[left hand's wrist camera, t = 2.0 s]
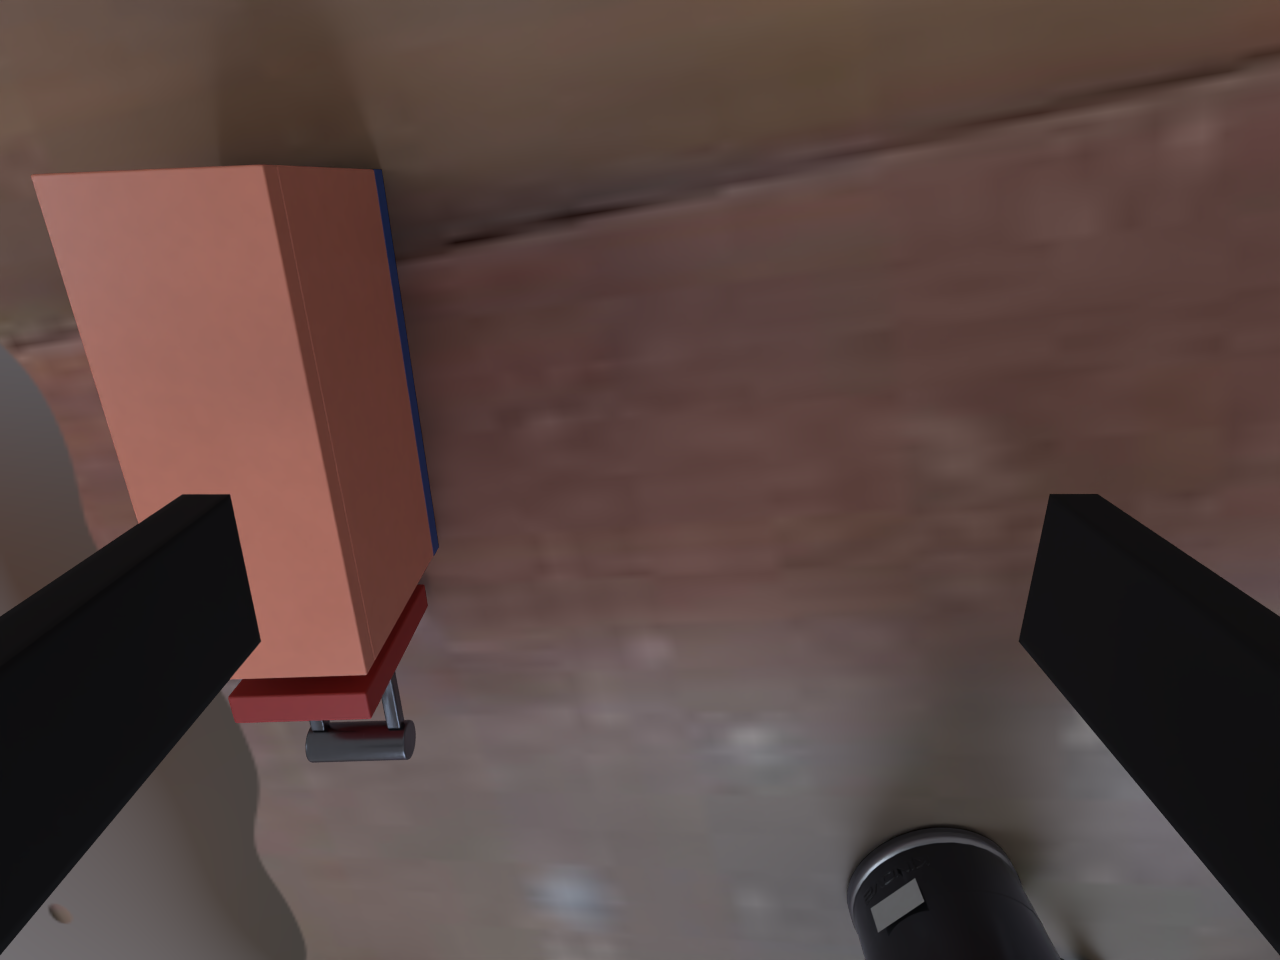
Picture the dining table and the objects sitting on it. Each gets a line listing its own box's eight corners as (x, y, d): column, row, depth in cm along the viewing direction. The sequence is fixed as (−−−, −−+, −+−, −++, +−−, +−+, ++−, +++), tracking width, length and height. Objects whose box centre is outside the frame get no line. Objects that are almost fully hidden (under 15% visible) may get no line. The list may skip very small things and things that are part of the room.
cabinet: (438, 547, 35) (367, 675, 26) (304, 551, 35) (186, 681, 26) (381, 169, 29) (262, 164, 20) (220, 176, 30) (28, 173, 20)
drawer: (443, 698, 37) (393, 827, 30) (340, 701, 37) (265, 831, 30) (374, 272, 30) (285, 302, 22) (246, 277, 30) (114, 309, 23)
